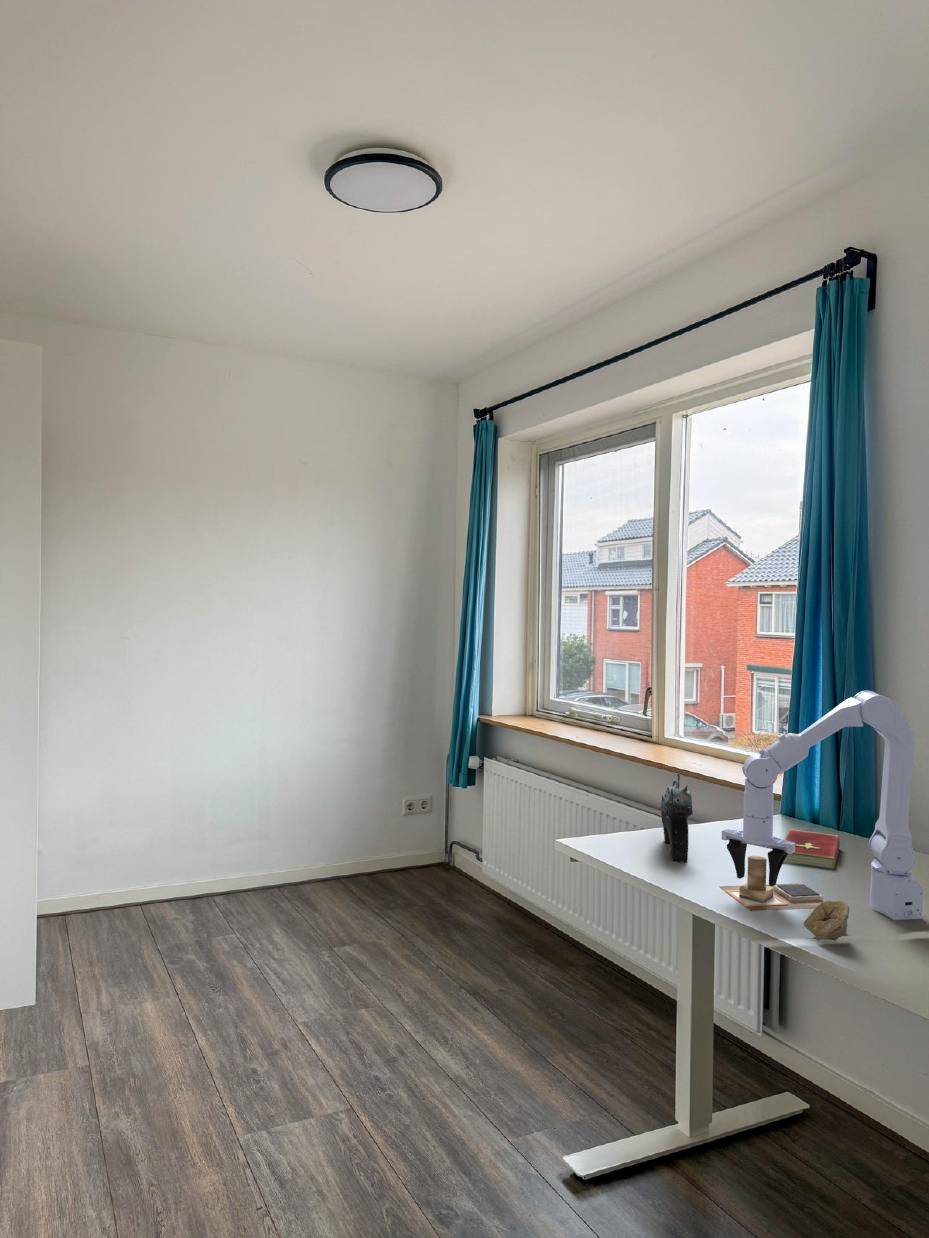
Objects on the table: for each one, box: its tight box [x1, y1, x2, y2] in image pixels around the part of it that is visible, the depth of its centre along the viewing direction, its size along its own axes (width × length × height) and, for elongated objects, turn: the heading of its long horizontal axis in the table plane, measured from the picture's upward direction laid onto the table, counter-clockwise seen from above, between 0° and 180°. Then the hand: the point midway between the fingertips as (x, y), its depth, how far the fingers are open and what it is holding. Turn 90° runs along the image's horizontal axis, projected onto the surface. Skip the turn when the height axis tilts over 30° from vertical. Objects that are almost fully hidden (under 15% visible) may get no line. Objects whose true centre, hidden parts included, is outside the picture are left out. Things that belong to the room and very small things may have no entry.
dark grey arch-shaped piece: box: [660, 771, 694, 863], centre depth 210 cm, size 20×6×20 cm, turn 173°
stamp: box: [739, 855, 774, 903], centre depth 176 cm, size 5×5×8 cm
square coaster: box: [724, 890, 788, 908], centre depth 176 cm, size 9×9×1 cm
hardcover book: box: [782, 828, 841, 870], centre depth 207 cm, size 12×21×4 cm, turn 154°
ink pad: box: [774, 883, 824, 902], centre depth 177 cm, size 7×7×1 cm
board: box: [718, 883, 826, 912], centre depth 177 cm, size 14×18×1 cm
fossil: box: [802, 900, 850, 941], centre depth 159 cm, size 9×4×10 cm
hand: (756, 881), depth 175 cm, fingers open, 6 cm apart
